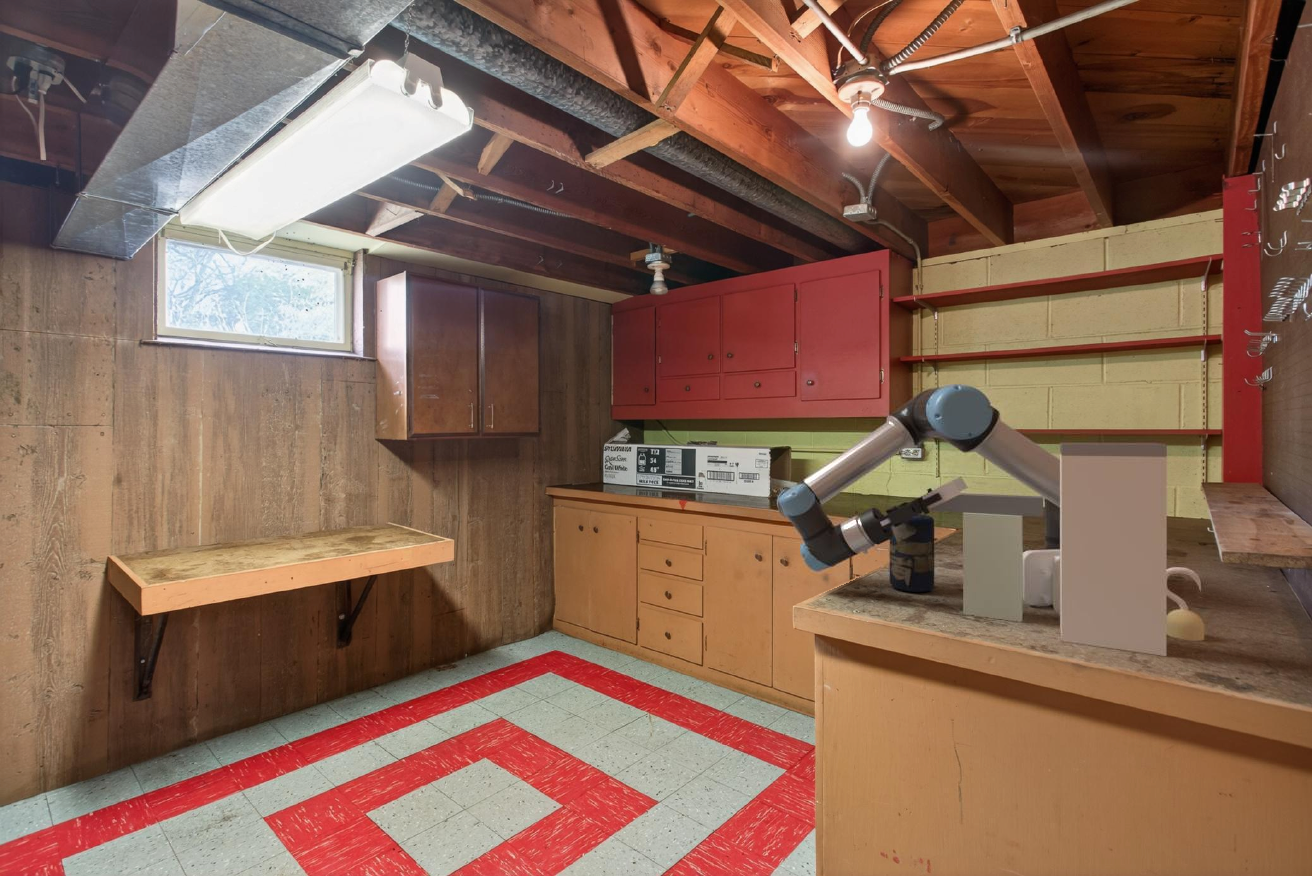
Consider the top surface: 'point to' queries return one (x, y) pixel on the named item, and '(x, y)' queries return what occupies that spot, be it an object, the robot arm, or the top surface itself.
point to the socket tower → (1114, 545)
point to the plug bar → (993, 504)
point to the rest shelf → (993, 566)
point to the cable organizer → (1042, 578)
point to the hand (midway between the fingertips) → (961, 484)
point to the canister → (913, 554)
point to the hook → (1183, 613)
